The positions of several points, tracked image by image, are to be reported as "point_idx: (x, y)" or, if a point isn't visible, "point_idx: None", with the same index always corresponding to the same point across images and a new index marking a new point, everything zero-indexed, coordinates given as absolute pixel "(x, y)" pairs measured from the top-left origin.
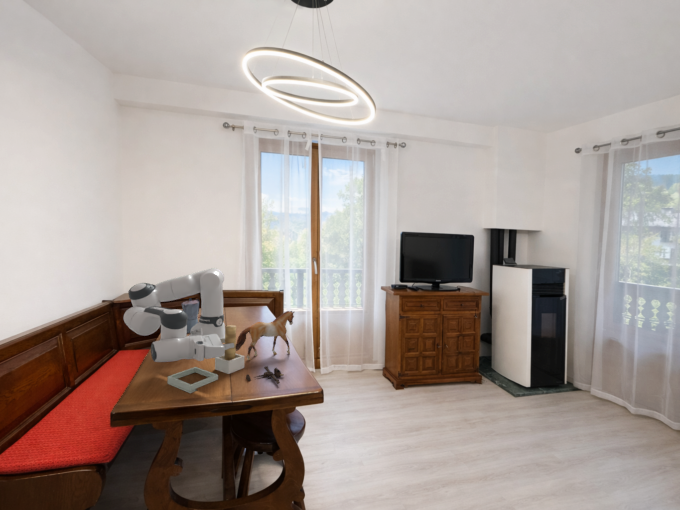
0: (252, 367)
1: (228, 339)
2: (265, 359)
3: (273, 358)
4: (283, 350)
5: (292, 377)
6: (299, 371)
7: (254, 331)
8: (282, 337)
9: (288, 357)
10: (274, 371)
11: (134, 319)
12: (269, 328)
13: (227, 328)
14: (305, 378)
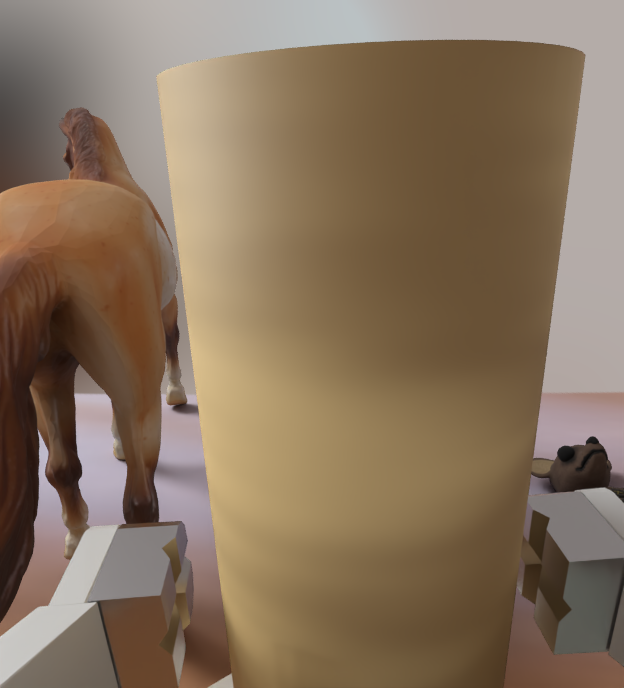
0: None
1: (525, 499)
2: (188, 511)
3: (202, 470)
4: (94, 415)
5: (587, 438)
6: None
7: (143, 278)
8: (169, 304)
9: None
10: (605, 470)
11: None
12: (162, 231)
13: (572, 87)
14: (596, 402)
